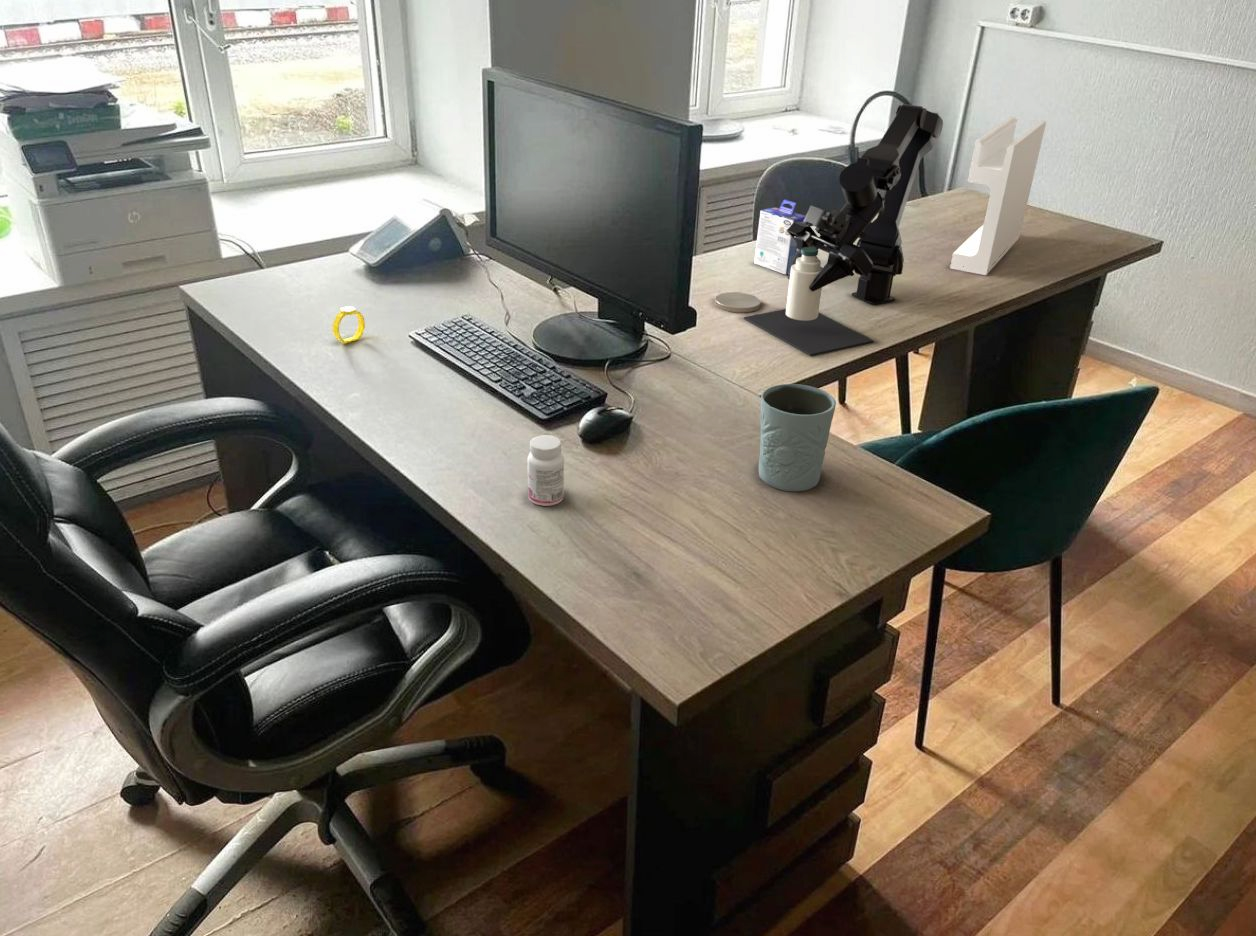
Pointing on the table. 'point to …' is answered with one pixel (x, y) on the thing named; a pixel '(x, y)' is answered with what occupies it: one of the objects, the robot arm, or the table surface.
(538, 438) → the pill bottle
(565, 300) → the table surface
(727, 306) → the off-white round coaster
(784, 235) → the ink cartridge box
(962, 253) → the white stand
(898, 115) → the robot arm
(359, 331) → the yellow ring
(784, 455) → the light blue embossed cup
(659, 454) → the table surface
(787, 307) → the bottle
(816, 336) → the felt mat
